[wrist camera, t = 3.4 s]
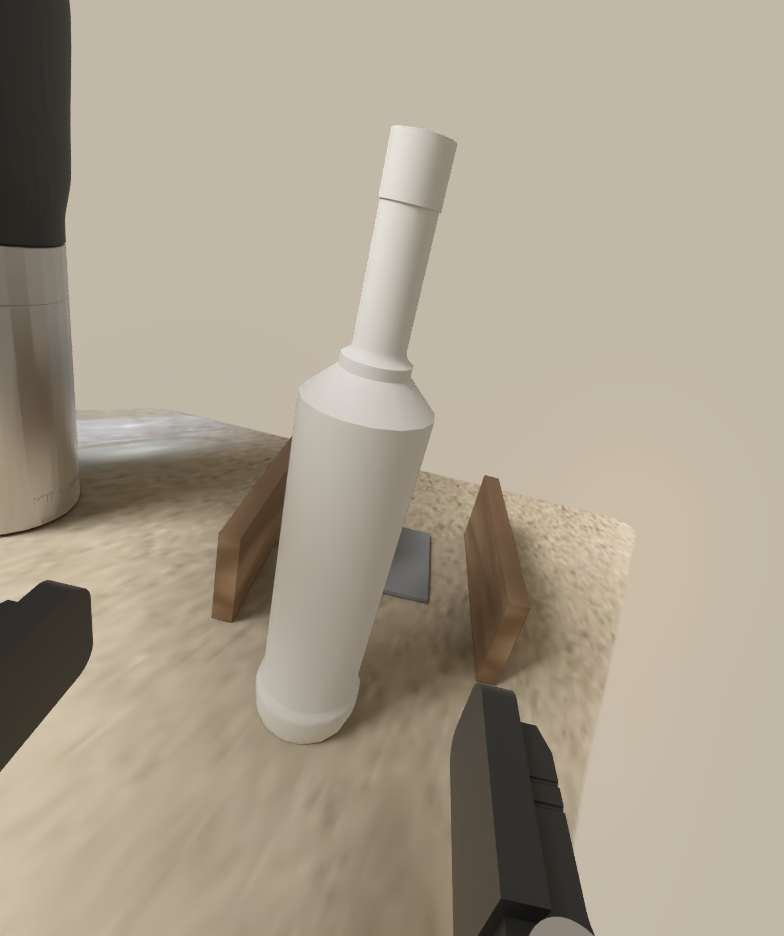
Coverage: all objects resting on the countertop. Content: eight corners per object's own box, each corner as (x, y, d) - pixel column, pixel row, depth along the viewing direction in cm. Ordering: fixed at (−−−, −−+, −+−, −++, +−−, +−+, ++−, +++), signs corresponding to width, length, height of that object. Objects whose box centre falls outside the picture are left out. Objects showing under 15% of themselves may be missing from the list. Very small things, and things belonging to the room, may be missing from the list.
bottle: (283, 647, 28) (371, 138, 18) (367, 683, 27) (514, 169, 17) (231, 722, 24) (308, 92, 13) (330, 767, 23) (500, 132, 12)
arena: (211, 617, 29) (218, 533, 26) (287, 491, 43) (297, 429, 41) (495, 685, 29) (530, 608, 27) (477, 537, 44) (498, 478, 41)
